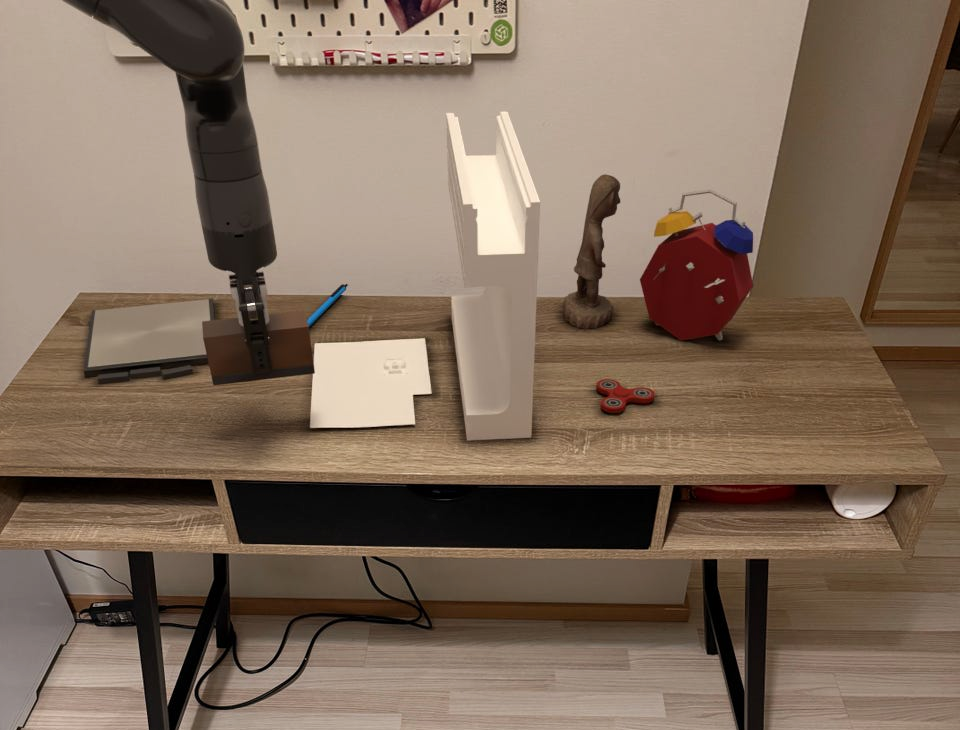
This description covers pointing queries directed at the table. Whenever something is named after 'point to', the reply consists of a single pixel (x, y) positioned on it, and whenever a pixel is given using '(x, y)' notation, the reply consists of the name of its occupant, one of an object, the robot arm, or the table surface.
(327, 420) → the paper
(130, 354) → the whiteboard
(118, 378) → the stroke
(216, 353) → the eraser
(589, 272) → the figurine
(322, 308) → the pen
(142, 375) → the stroke
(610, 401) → the fidget spinner
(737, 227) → the alarm clock
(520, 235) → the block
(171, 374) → the stroke
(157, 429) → the table surface
